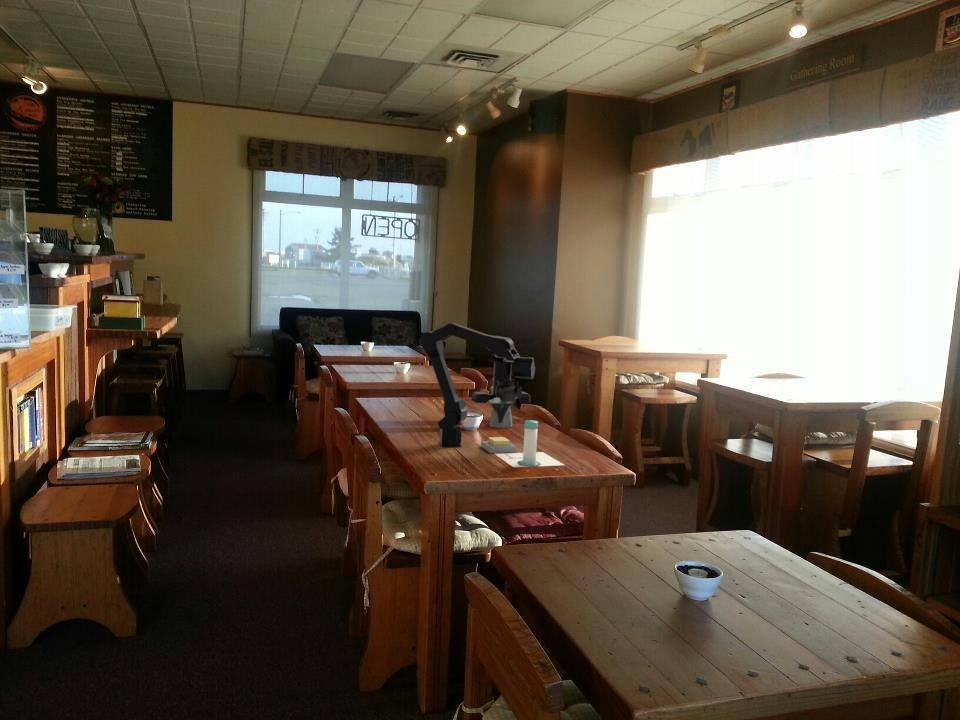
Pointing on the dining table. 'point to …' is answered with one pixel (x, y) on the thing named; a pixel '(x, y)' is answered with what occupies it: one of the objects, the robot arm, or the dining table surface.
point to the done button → (498, 441)
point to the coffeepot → (506, 420)
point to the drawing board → (517, 461)
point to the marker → (530, 442)
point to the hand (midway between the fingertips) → (499, 423)
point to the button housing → (498, 448)
